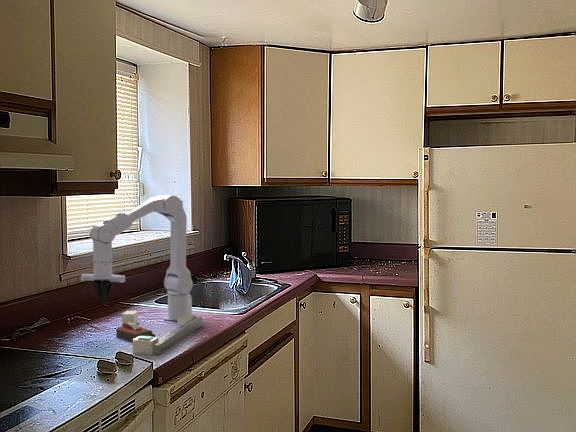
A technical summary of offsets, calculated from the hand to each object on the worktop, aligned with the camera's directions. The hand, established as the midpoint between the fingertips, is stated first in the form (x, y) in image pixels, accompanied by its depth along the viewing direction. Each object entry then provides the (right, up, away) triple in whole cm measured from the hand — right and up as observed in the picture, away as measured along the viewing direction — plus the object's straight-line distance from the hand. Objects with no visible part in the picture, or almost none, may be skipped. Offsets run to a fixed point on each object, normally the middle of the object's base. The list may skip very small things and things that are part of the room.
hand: (103, 303), depth 196 cm
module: (+6, -9, +12) cm, 16 cm away
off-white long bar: (+23, -10, -6) cm, 25 cm away
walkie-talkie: (+10, -10, -2) cm, 14 cm away
